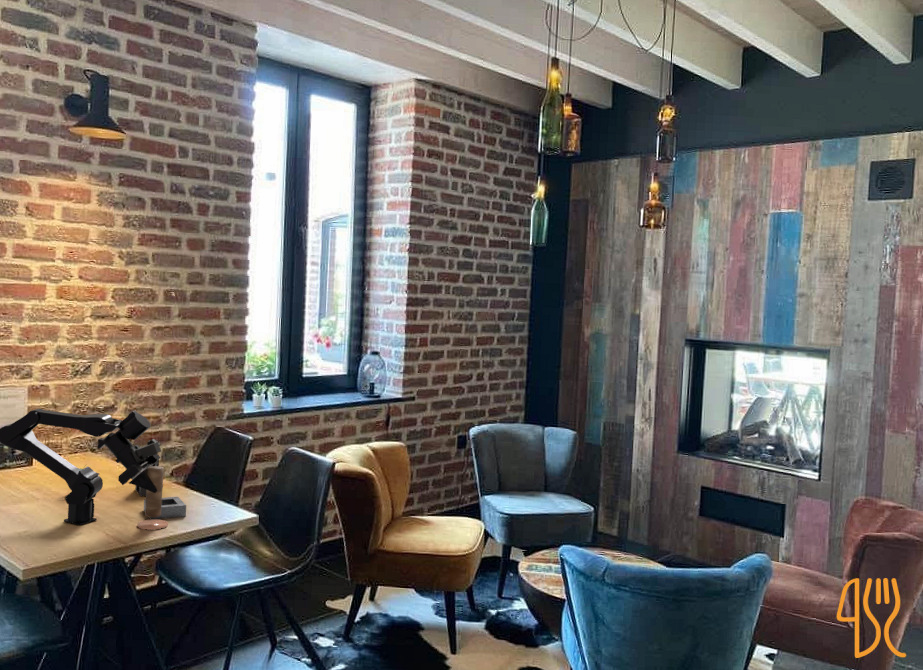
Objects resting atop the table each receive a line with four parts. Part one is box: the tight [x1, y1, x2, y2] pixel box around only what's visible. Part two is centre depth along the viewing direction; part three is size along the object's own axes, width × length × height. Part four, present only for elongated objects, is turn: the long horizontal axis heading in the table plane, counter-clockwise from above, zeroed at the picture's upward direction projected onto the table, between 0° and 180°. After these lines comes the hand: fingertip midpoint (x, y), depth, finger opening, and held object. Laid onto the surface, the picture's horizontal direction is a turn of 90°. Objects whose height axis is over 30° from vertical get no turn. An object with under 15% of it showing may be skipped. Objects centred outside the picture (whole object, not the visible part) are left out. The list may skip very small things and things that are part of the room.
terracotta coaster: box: [136, 519, 169, 531], centre depth 232 cm, size 8×8×1 cm
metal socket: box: [143, 496, 187, 520], centre depth 245 cm, size 10×10×4 cm
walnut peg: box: [144, 465, 165, 518], centre depth 232 cm, size 4×4×14 cm
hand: (159, 489), depth 232 cm, fingers closed on walnut peg, 4 cm apart
